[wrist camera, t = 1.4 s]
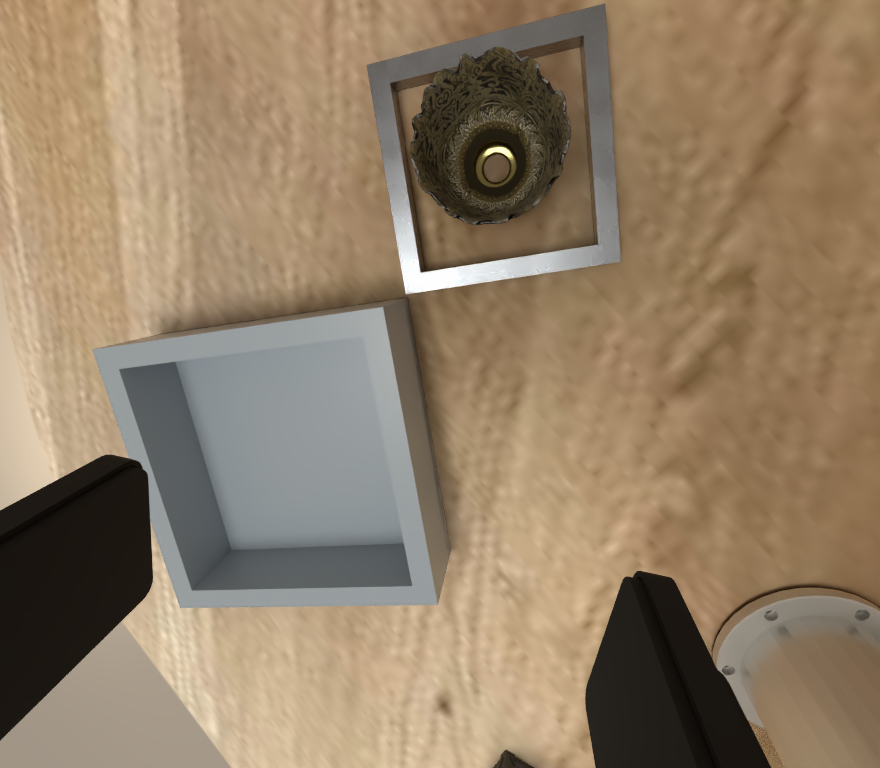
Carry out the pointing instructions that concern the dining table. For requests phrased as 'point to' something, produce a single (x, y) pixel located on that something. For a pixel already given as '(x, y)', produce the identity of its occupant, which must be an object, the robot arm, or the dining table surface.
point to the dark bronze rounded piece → (489, 136)
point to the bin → (287, 458)
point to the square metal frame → (592, 40)
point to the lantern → (510, 761)
